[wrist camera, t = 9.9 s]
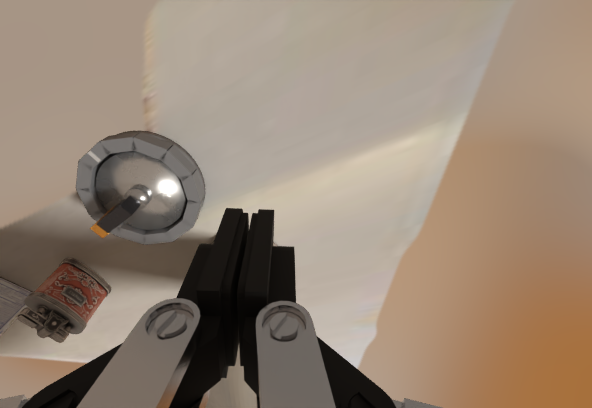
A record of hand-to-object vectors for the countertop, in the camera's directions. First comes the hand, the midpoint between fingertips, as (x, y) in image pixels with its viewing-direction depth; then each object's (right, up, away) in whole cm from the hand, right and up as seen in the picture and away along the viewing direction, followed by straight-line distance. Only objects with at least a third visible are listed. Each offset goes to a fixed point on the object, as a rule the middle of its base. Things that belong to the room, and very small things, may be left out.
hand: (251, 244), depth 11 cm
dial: (-17, +3, +27) cm, 32 cm away
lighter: (-30, -9, +36) cm, 48 cm away
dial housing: (-17, +4, +28) cm, 33 cm away
